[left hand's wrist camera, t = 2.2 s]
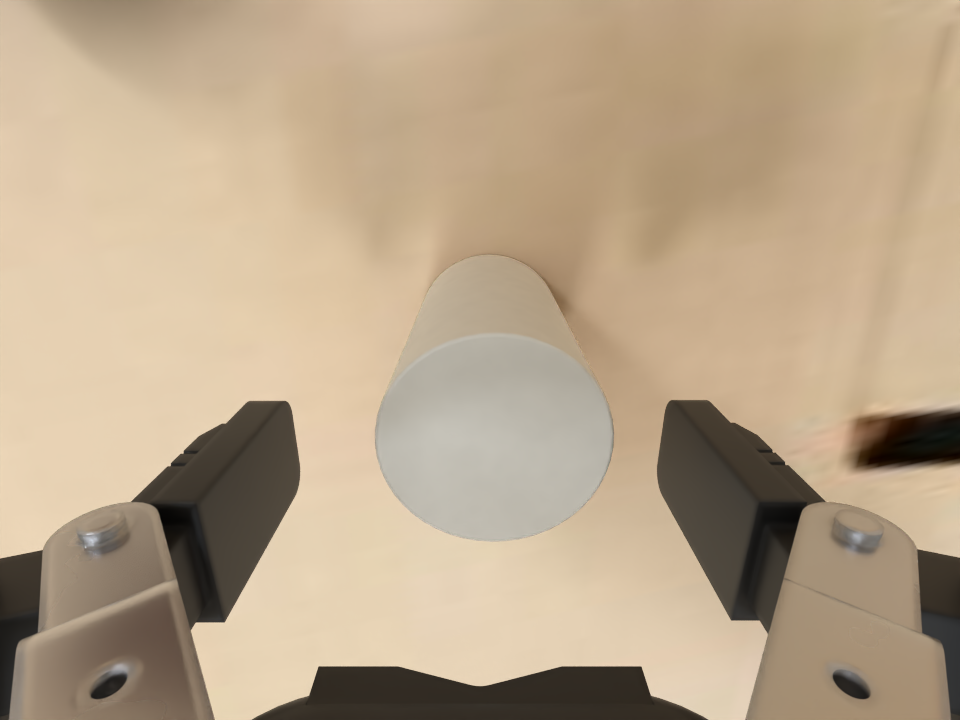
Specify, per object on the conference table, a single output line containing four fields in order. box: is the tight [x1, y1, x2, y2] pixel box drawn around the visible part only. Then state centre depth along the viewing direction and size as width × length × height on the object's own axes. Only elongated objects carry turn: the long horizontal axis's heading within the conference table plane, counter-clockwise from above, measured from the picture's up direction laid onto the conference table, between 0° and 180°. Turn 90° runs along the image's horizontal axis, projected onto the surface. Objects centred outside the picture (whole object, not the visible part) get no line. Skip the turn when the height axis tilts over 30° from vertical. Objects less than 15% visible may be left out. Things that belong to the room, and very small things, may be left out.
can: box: [375, 254, 614, 542], centre depth 14 cm, size 5×5×8 cm
